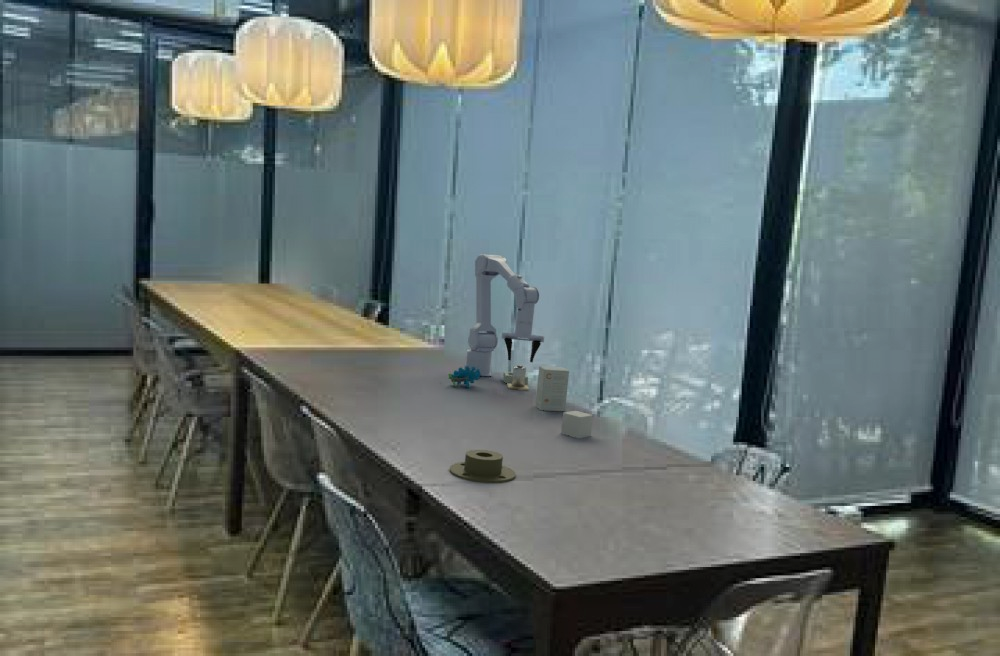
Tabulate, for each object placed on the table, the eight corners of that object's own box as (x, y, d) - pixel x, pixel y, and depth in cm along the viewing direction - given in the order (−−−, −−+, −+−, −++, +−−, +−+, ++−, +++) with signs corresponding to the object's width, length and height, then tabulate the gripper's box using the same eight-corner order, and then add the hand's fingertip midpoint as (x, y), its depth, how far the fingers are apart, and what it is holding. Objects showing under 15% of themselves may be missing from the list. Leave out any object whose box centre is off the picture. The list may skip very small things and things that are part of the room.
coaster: (508, 388, 311) (508, 387, 311) (506, 384, 318) (506, 383, 318) (528, 390, 312) (528, 388, 312) (526, 386, 319) (526, 384, 319)
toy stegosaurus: (479, 380, 313) (481, 363, 305) (481, 394, 310) (483, 378, 302) (447, 382, 311) (448, 365, 303) (449, 396, 308) (450, 380, 300)
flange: (481, 442, 216) (437, 451, 204) (530, 458, 207) (487, 467, 195) (479, 461, 217) (435, 471, 205) (528, 478, 207) (485, 489, 196)
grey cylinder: (512, 386, 313) (514, 366, 312) (511, 384, 317) (513, 364, 317) (524, 387, 313) (526, 367, 313) (523, 385, 318) (525, 365, 317)
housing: (504, 383, 320) (505, 375, 320) (502, 379, 328) (503, 371, 328) (527, 385, 321) (528, 377, 320) (524, 381, 329) (525, 373, 328)
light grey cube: (578, 438, 249) (580, 417, 248) (560, 433, 253) (563, 412, 252) (590, 436, 254) (593, 414, 253) (573, 431, 257) (575, 410, 257)
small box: (558, 407, 289) (563, 366, 287) (565, 411, 283) (569, 370, 281) (534, 406, 287) (538, 365, 285) (540, 410, 280) (544, 369, 279)
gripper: (504, 321, 308) (500, 360, 309) (546, 325, 309) (542, 364, 311) (502, 319, 315) (498, 357, 316) (544, 322, 316) (539, 361, 318)
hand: (520, 360), depth 314 cm, fingers open, 7 cm apart
